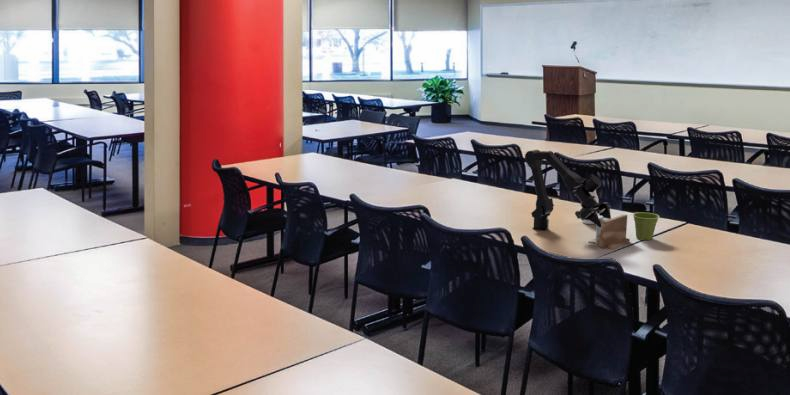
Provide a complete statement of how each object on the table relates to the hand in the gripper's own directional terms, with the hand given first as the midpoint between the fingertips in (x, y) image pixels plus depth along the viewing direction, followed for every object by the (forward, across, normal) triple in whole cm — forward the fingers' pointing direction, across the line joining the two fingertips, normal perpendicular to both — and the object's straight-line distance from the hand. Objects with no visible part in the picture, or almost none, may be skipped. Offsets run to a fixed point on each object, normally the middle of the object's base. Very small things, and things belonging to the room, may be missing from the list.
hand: (606, 225), depth 333 cm
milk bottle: (-11, -28, -23) cm, 37 cm away
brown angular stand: (+7, 0, -5) cm, 8 cm away
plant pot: (+13, -19, +1) cm, 23 cm away
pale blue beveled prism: (+4, 0, -6) cm, 8 cm away
